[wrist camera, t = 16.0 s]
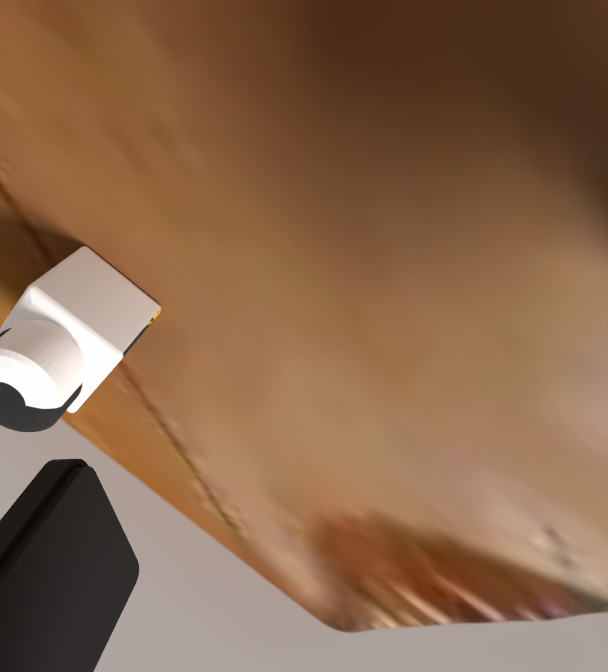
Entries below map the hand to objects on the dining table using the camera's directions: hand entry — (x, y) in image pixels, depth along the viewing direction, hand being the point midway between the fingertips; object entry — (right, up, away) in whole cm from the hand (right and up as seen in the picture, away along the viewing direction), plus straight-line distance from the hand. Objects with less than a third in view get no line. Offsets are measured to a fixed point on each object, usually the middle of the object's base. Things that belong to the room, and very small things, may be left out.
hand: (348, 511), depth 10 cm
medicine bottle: (-16, +5, +33) cm, 37 cm away
